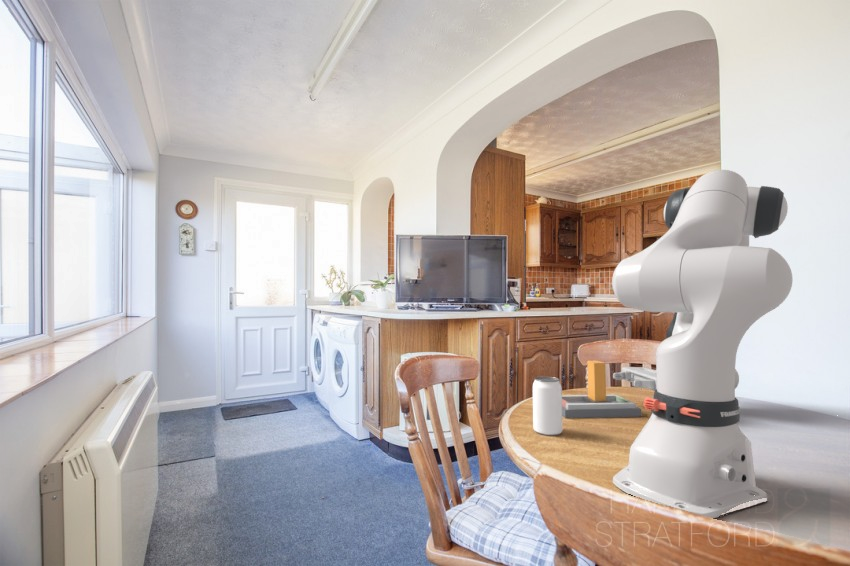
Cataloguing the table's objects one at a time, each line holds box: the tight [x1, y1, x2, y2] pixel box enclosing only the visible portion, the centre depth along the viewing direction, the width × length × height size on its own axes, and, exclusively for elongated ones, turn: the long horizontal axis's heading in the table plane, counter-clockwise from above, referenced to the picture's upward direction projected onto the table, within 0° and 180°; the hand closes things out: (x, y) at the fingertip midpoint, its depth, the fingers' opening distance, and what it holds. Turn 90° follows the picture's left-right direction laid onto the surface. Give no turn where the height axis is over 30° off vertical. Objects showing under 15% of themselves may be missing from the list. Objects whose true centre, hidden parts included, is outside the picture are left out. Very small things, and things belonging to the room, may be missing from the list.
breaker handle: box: [583, 360, 612, 403], centre depth 107 cm, size 5×6×11 cm
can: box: [532, 375, 563, 437], centre depth 91 cm, size 6×6×12 cm
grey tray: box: [562, 394, 643, 419], centre depth 107 cm, size 20×11×3 cm, turn 92°
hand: (623, 379), depth 107 cm, fingers open, 8 cm apart
